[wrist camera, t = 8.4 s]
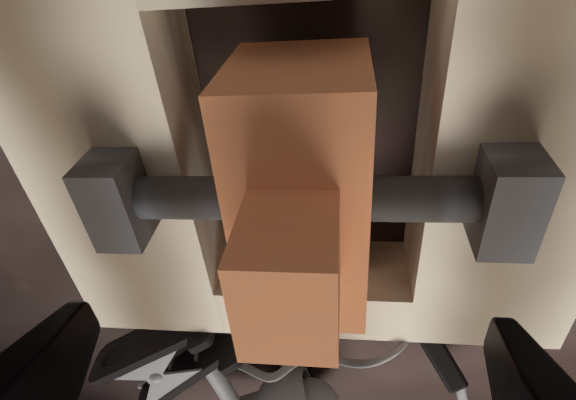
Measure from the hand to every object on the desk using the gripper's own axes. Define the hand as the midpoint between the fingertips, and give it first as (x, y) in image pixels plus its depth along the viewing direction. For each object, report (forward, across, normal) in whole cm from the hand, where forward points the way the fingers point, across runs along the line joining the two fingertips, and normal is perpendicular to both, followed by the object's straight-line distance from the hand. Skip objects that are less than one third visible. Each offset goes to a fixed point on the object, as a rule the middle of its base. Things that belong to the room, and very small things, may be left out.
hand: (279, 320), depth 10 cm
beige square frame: (+9, 0, 0) cm, 9 cm away
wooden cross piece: (+8, 0, 0) cm, 8 cm away
